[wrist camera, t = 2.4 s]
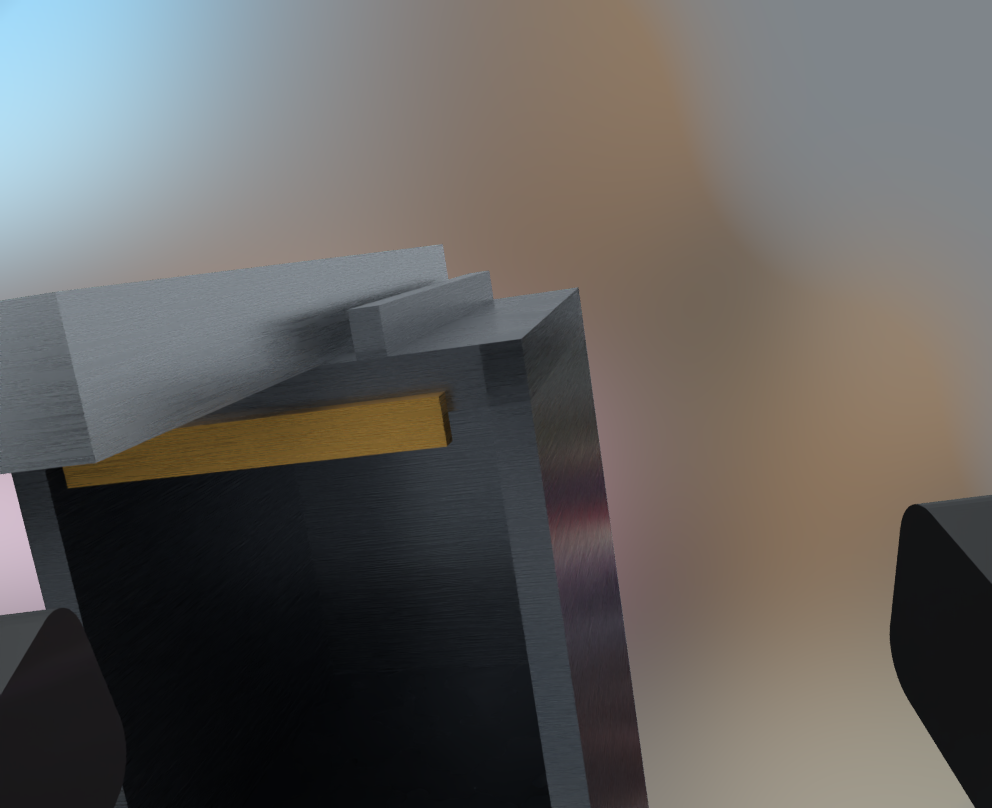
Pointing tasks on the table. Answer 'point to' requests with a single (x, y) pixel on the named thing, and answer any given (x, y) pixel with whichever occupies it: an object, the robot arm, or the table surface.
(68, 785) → the robot arm
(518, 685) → the rack
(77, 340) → the panel
